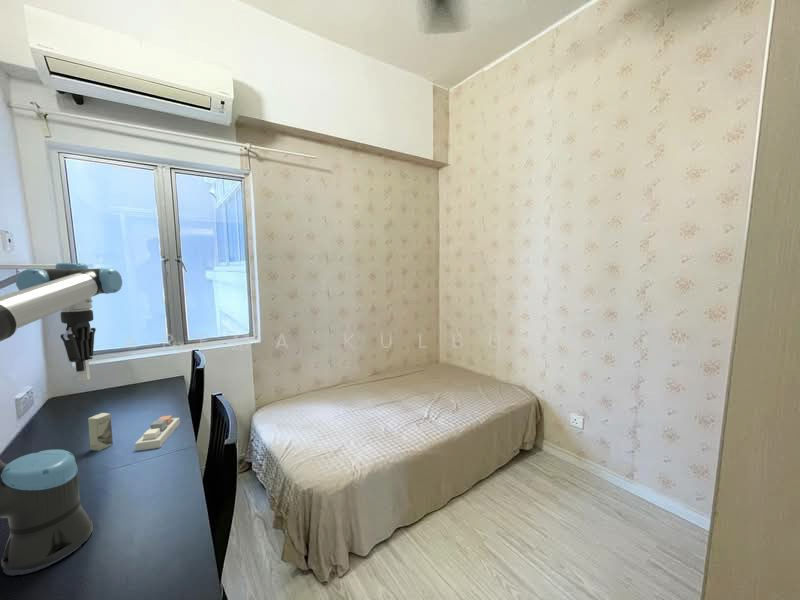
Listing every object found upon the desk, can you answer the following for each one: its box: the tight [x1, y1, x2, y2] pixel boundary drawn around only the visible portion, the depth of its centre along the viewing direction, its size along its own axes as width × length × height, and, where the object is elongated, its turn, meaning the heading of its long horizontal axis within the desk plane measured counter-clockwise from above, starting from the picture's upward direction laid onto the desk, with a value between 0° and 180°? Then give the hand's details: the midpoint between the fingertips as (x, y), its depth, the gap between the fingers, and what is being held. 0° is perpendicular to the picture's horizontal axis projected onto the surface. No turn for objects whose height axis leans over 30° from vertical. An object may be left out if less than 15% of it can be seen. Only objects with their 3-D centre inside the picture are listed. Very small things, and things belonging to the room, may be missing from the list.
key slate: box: [150, 419, 167, 431], centre depth 131 cm, size 4×4×3 cm
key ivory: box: [142, 428, 160, 441], centre depth 126 cm, size 4×4×3 cm
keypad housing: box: [134, 417, 181, 452], centre depth 132 cm, size 20×8×3 cm, turn 16°
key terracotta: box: [157, 415, 173, 425], centre depth 137 cm, size 4×4×3 cm
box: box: [87, 412, 114, 452], centre depth 123 cm, size 5×4×13 cm
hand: (83, 379), depth 107 cm, fingers closed
